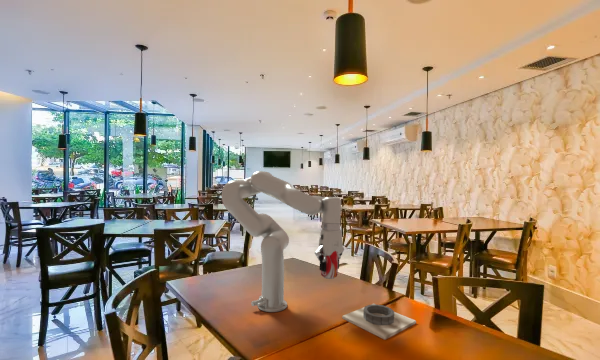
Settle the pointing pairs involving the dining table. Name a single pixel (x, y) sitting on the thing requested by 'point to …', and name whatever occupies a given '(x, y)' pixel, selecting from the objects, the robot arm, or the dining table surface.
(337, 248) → the robot arm
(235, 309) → the dining table surface
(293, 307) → the dining table surface
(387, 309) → the socket board
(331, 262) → the soda can
